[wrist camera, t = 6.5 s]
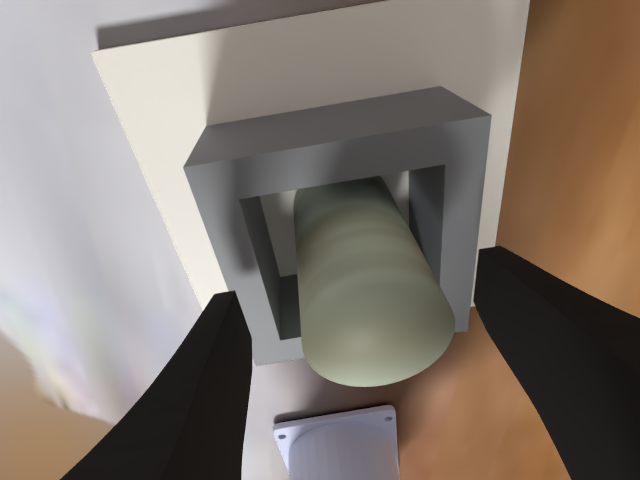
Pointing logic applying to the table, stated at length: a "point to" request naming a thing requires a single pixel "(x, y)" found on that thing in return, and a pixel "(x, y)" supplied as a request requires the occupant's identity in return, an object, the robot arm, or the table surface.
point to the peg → (365, 287)
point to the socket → (323, 139)
